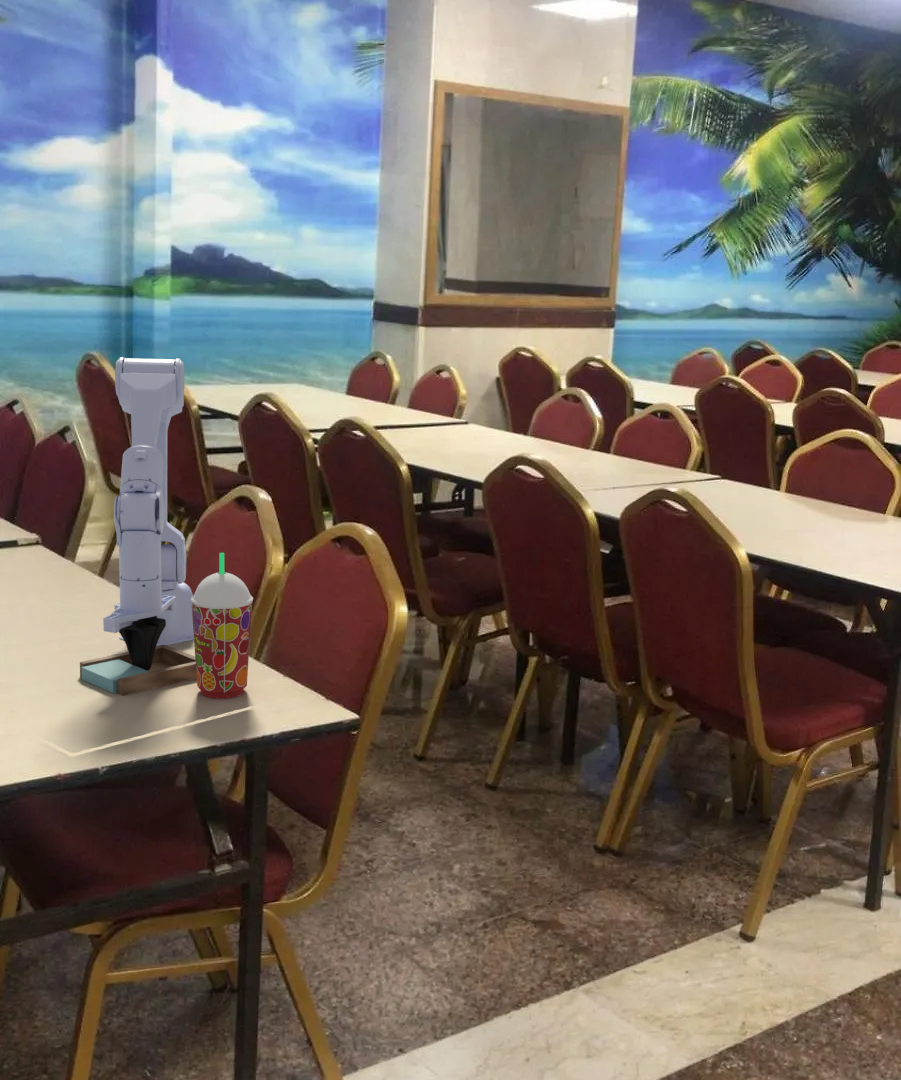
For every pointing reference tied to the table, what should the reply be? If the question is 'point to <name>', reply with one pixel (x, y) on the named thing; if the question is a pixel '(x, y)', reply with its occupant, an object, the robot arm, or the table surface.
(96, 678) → the cover plate
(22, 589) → the table surface
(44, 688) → the table surface
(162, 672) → the walnut box
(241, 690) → the smoothie
